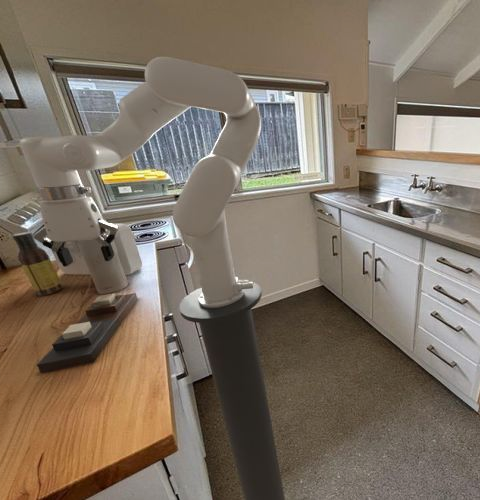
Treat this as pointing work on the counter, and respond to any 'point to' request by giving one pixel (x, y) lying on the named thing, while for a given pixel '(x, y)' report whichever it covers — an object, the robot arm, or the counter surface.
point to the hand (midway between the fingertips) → (89, 261)
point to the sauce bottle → (37, 265)
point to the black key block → (78, 347)
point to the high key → (77, 330)
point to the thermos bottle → (103, 266)
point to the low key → (104, 300)
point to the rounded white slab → (123, 247)
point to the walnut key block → (110, 310)
